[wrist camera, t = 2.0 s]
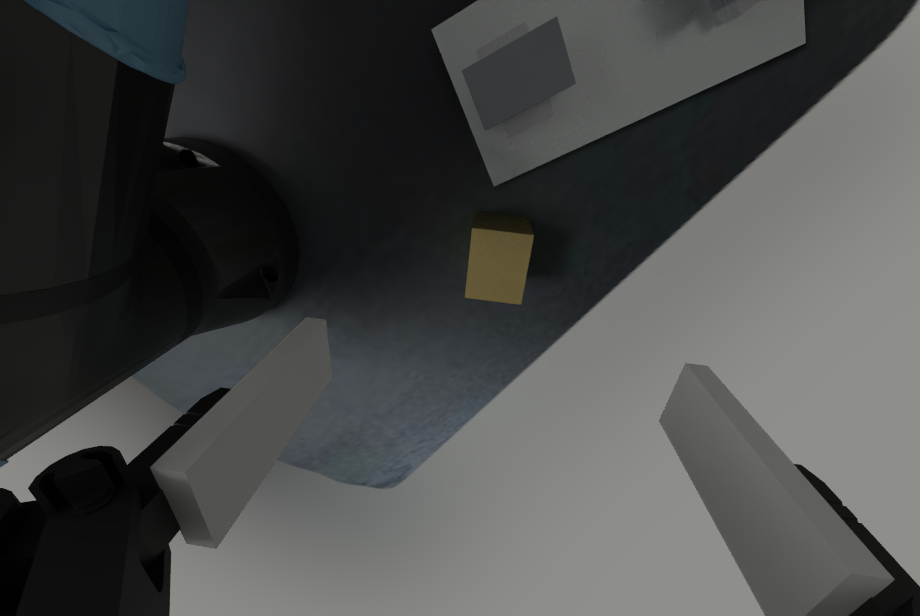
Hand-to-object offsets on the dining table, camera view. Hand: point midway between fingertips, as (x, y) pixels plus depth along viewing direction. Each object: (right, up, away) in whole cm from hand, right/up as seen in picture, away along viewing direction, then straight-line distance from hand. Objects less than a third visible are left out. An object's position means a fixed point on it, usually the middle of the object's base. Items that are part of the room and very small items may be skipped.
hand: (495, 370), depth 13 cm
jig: (+8, +19, +8) cm, 22 cm away
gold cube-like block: (+2, +7, +15) cm, 17 cm away
